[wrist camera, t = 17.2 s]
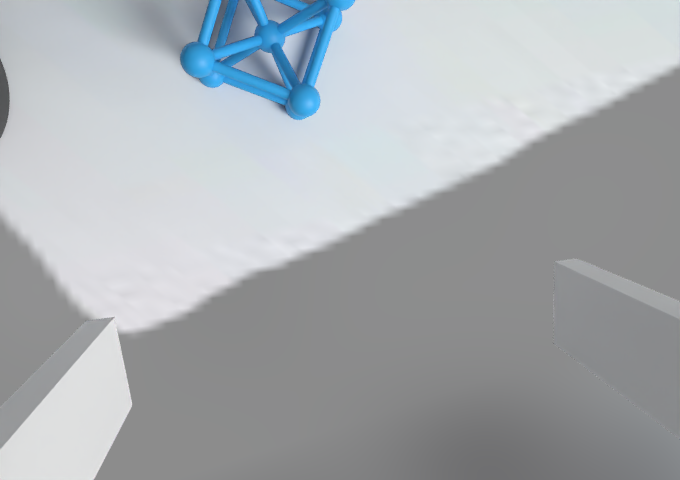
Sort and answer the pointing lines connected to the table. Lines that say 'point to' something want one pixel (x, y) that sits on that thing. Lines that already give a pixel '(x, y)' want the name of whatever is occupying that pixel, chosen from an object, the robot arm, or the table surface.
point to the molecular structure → (269, 39)
